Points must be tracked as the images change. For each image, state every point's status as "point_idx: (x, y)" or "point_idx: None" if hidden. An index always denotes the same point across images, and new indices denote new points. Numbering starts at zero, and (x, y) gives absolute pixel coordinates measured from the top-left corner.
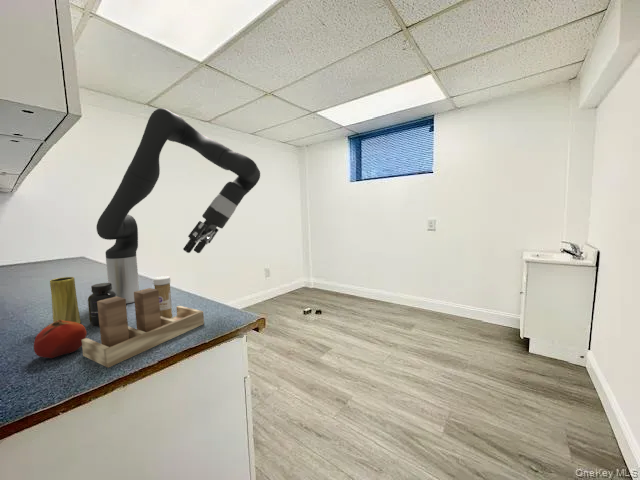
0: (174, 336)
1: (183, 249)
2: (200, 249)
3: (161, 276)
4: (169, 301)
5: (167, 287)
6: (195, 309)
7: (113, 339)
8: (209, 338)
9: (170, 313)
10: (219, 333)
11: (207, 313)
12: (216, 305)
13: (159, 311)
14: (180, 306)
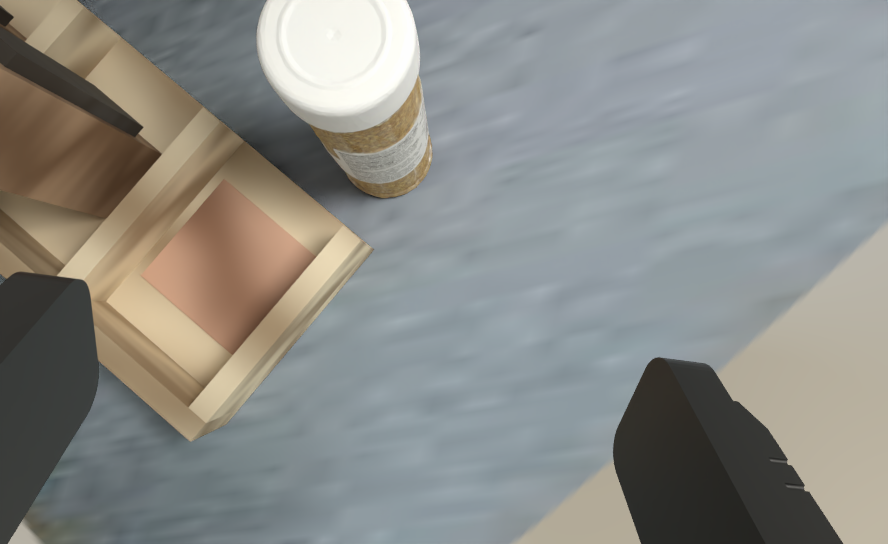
0: None
1: (24, 277)
2: (642, 516)
3: (381, 14)
4: (350, 167)
5: (317, 128)
6: (243, 378)
7: None
8: None
9: (369, 187)
10: (62, 538)
11: (408, 414)
12: (562, 454)
13: (18, 193)
14: (338, 253)
